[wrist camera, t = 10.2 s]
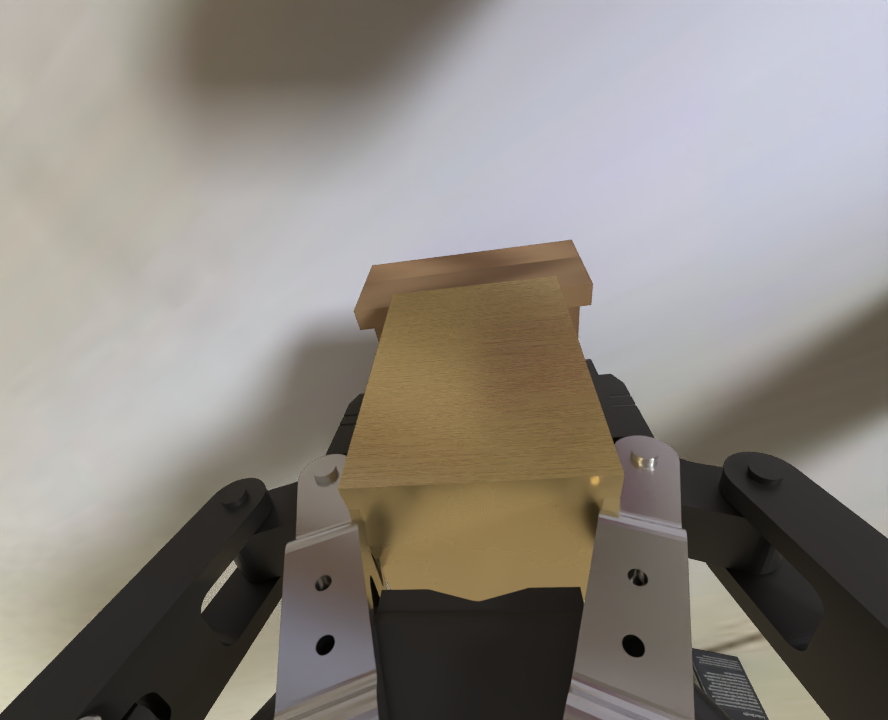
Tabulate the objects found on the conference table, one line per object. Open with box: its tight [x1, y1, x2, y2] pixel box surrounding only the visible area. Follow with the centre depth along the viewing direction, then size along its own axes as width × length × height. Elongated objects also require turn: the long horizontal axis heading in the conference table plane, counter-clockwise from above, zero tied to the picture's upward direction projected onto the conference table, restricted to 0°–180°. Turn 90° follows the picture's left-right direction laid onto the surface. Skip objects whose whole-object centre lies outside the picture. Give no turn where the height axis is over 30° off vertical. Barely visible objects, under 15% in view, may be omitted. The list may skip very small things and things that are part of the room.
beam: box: [354, 240, 593, 342], centre depth 27 cm, size 8×40×4 cm, turn 8°
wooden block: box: [338, 276, 624, 601], centre depth 11 cm, size 5×5×7 cm
